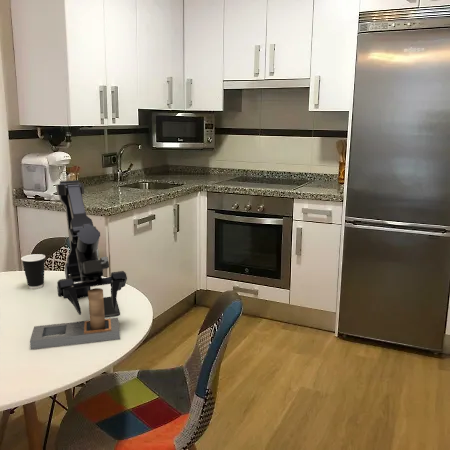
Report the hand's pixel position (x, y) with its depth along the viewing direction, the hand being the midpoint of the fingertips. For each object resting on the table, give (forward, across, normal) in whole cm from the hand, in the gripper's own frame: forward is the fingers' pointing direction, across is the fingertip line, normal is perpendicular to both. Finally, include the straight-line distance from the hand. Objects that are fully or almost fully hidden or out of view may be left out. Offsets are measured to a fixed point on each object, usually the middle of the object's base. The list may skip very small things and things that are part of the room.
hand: (97, 311), depth 132 cm
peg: (+4, 0, +6) cm, 8 cm away
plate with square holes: (+4, -6, +7) cm, 10 cm away
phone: (-8, +6, +20) cm, 22 cm away
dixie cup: (-29, -13, +40) cm, 52 cm away
